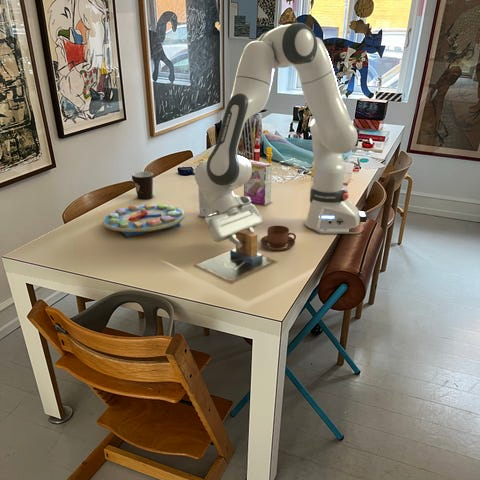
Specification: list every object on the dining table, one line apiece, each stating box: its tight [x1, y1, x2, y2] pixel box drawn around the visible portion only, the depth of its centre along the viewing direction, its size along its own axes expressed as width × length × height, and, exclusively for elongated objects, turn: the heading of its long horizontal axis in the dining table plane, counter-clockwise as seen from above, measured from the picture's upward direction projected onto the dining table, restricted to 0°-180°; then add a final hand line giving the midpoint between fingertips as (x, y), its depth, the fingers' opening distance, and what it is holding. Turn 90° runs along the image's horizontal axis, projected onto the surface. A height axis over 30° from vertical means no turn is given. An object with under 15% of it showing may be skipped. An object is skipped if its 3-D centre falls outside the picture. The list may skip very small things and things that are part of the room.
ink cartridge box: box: [198, 188, 213, 218], centre depth 188 cm, size 10×6×14 cm, turn 78°
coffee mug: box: [131, 171, 154, 201], centre depth 209 cm, size 12×9×10 cm
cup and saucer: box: [260, 225, 297, 251], centre depth 165 cm, size 12×12×6 cm
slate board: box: [195, 250, 275, 282], centre depth 154 cm, size 20×16×1 cm
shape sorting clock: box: [102, 203, 185, 238], centre depth 182 cm, size 31×30×6 cm
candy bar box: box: [243, 159, 273, 206], centre depth 201 cm, size 11×5×16 cm, turn 53°
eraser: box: [229, 229, 264, 265], centre depth 155 cm, size 10×5×9 cm, turn 45°
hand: (247, 244), depth 154 cm, fingers open, 4 cm apart
